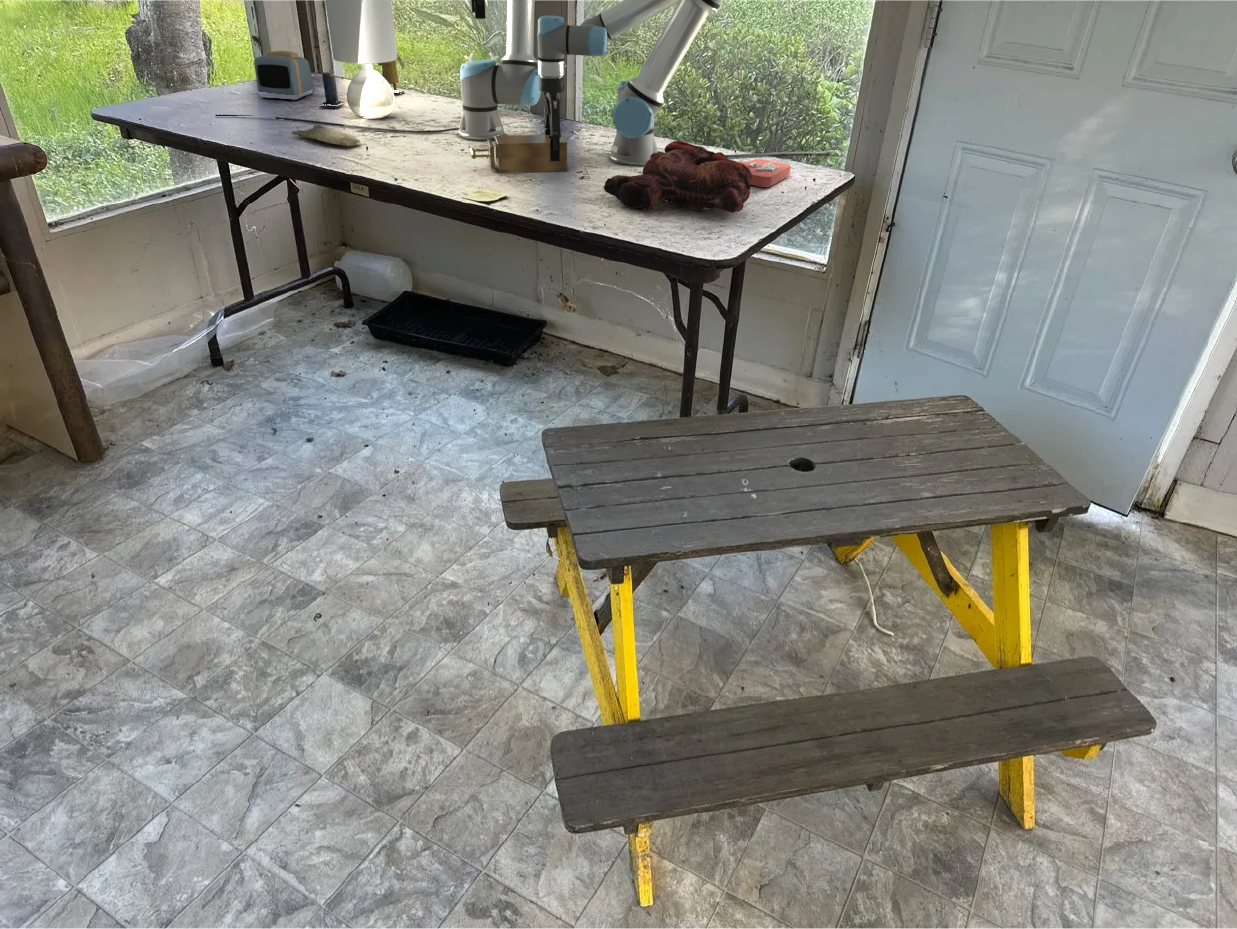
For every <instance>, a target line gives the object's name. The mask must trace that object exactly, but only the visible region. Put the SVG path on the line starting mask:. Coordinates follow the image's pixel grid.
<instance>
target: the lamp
mask: <svg viewBox="0 0 1237 929" xmlns="http://www.w3.org/2000/svg"><path fill="white" fill-rule="evenodd" d="M324 3H325V9H326V18H327V23H328V30H329V37H330V45H331V51H332V58H333V60H334V61H336V62H341V63H348V64H360V70H358V71H357V72H356V74H354V76H353V77H352V79H351V80H350V82H349V84H348V87H347V92H346V101H347V104H348V107H349V109H350V110H351V112H352V113H354V115H356V116H358V117H360V118H362V119H368V120H369V119H370V120H371V119H372V120H375V119H382V118H385V117H387V116H389V115H390V114H391V113H392V111H393V110H394V107H395V103H396V102H395V95H394V94H393V91H392V90H393V89H392V87H391V84H390V85H389V84H388V82H387V81H386V80H385V79H384V78H383V77H382V74H380V73H379V72H378V71H376V70H375V68H374V67H373V64H378V63H383V62H390V61H394V60H398V59H397V53H398V50H397V40H396V31H395V21H394V13H393V2H392V0H324ZM361 116H365V117H361Z"/></svg>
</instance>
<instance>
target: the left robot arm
mask: <svg viewBox="0 0 1237 929" xmlns="http://www.w3.org/2000/svg"><path fill="white" fill-rule="evenodd" d="M535 2H536V0H507V2H506V3H507V4H506V6H507V7H506V10H507V11H506V54H504V56H503V57H501V65H499V64H497V65H496V63H497V61H496V60H491V58H489V59H487V58H486V59H477V60H473V61H471V62H469V61H466V62H464V63H463V64H462V65H461V66H460V69H459V73H460V78H459V80H460V91H461V105H462V113H461V118H460V121H459V126H458V127H451V128H444V129H435V130H414V129H413V130H411V129H397V128H395V129H394V128H385V127H384V128H382V127H374V126H373V127H371V126H364V125H363V126H362V125H353V124H343V123H335V122H328V121H327V122H326V121H321V120H318V121H317V120H309V119H301V118H291V117H279V116H274V117H275V118H276V119H275V120H278V119H284V120H283V121H290V120H292V121H291V122H300V123H309V124H317V125H326V126H327V125H328V126H336V127H344V128H352V129H362V130H369V131H381V132H395V133H397V132H398V133H409V134H432V133H433V134H435V133H447V132H453V131H458V136H459V137H460V138H462V139H465V140H471V141H488V140H489V139H491V140H492V141H493V140H494V141H495V136H505V129H504V126H503V122H502V119H501V117H500V114H499V108H498V105H506V106H520V107H524V106H525V107H528V106H529V107H533V106H535V105H536V104H537V103H538V102H539V100H540V98H541V95H542V92H541V91H540V90H539V77H540V75H539V74H538V59H536V57H534V43H535V42H534V41H535V40H534V39H535V32H534V31H535V5H536V4H535ZM470 4H471V13H472V14H473V13H474V18H475V19H476V20H486V18H487V17H486V0H470ZM497 104H498V105H497ZM218 114H219V113H218ZM216 116H252V114H251V115H247V114H223V113H222V115H221V114H219V115H217V113H216V114H215V117H216Z"/></svg>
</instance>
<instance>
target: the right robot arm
mask: <svg viewBox="0 0 1237 929" xmlns="http://www.w3.org/2000/svg"><path fill="white" fill-rule="evenodd" d="M723 1H724V0H621V1H619V2H618V3H616V4H614V5H612V6H610V7H608V8H606V9H605V10H603V11H602V12H600V13H599V14H596V15H594V16H593V17H591V18H587V19H586V20H584V21H582V23H581V24H580V25H571V24H566V23H565V18H564V17H563V16H559V15H543V16H540V17H539V18H538V20H537V34H536V35H537V62H538V74H539V75H540V77H539V90H540V91H541V93H543V97H544V98H543V101H544V103H543V104H544V106H543V107H544V110H543V125H544V135H551V136H549V139H550V161H560V138H561V134H562V133H561V132H562V131H561V113H560V108H561V107H560V104H561V102H560V99H559V97H558V94H559V93H563V92H564V91H565V88H566V87H565V84H566V83H565V77H564V76H565V68H567V64H566V63H565V55H566V56H570V55H571V56H583V57H584V56H585V57H586V56H587V57H593V58H594V57H604V56H605V55H606V53H607V48H608V42H610V41H611V40H612V39H614V38H617V37H618V36H620V35H622V34H624V33H625V32H627V31H629V30H631V29H633V28H635V27H637V26H638V25H640V24H642V23H644V22H645V21H648V20H649V19H651V18H653V17H656V16H657V15H659V14H660V13H662V12H664V11H666V10H668V9H670V8H672V7H674V6H676V7H675V8H674V10H673V12H672V13H671V14H670V17H669V19H668V21H667V23H666V24H665V25H664V28H663V30H662V31H661V33H660V35H659V37H658V39H657V40H656V42H655V44H654V45H653V47H652V49H651V51H650V53H649V54H648V56H647V58H646V60H645V61H644V64H643V66H642V68H641V69H640V70H639V73H638V75H637V76H635V77H631V78H629V80H620V81H619V82H618V83H617V89H616V91H617V97H616V98H617V100H616V103H615V105H614V106H613V108H612V112H611V113H612V114H611V115H612V116H611V117H612V118H611V119H612V122H613V126H614V128H615V129H616V133H615V137H614V140H613V143H612V144H611V148H610V153H609V159H610V160H611V161H612V162H613V163H616V164H619V165H626V166H645V165H646V163H647V162H648V160H650V159H651V158H650V157H651V155H652V154H653V153H657V152H658V153H660V152H661V151H660V150H658V147H657V143H656V139H655V119H656V116H657V114H658V113H659V111H660V109H661V107H662V106H663V104H664V102H665V99H664V93H665V90H666V89H667V86H668V85H669V83H670V82H671V80H672V78H673V76H674V74H675V73H676V71H677V69H678V68H679V66H680V65H681V62H682V61H683V59H684V57H685V55H686V54H687V52H688V50H689V49H690V47H691V45H692V43H693V42H694V41H695V38H696V36H697V35H698V33H699V31H701V30H700V29H701V28H702V26H703V25H704V23H705V21H706V20H707V18H708V16H709V15H710V14H711V13H714V12H717V11H718V10H719V8H720V6H721V5H722V3H723ZM834 150H835V149H830V150H829V149H828V150H823V151H822V150H821V151H813V150H812V151H779V152H777V151H776V152H759V153H740V154H724V155H725V156H726V158H727V159H729V158H731V159H732V158H750V157H751V158H752V157H769V156H770V157H771V156H792V155H794V156H795V155H796V156H797V155H799V156H801V155H827V154H835V155H836V156H837V157H840V156H841V153H840V152H839V151H837V152H835V151H836V150H835V151H834Z"/></svg>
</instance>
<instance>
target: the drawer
mask: <svg viewBox="0 0 1237 929" xmlns="http://www.w3.org/2000/svg"><path fill="white" fill-rule="evenodd" d="M496 148H497V162H498V165H499V160H498V145H497V142H496ZM478 152H487V154H477V153H478ZM469 153H470V156H471V157H470V158H471V159H473V160H476V159H477V158H488V164H489V167H490V170H496V154H495V144H494V143H493V140H491V139H489V140H487V148H474V147H470V148H469Z"/></svg>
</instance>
